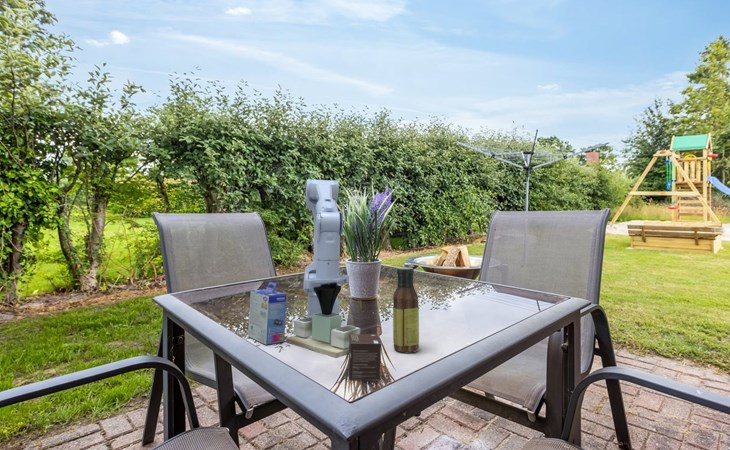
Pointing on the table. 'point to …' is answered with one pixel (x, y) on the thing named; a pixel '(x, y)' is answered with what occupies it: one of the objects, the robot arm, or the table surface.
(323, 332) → the block
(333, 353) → the board
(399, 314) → the sauce bottle
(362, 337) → the box
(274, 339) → the ink cartridge box
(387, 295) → the table surface
